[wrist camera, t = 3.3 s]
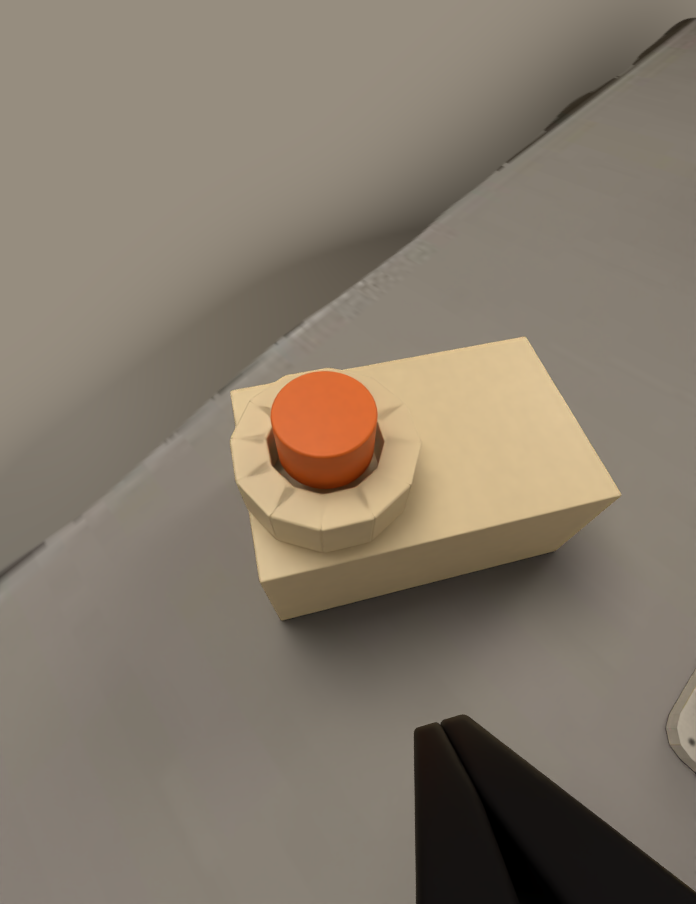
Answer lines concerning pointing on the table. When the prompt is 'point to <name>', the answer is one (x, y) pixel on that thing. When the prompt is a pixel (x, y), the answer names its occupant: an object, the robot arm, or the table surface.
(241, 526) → the table surface
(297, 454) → the round orange push button
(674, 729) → the emergency button
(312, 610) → the button base
